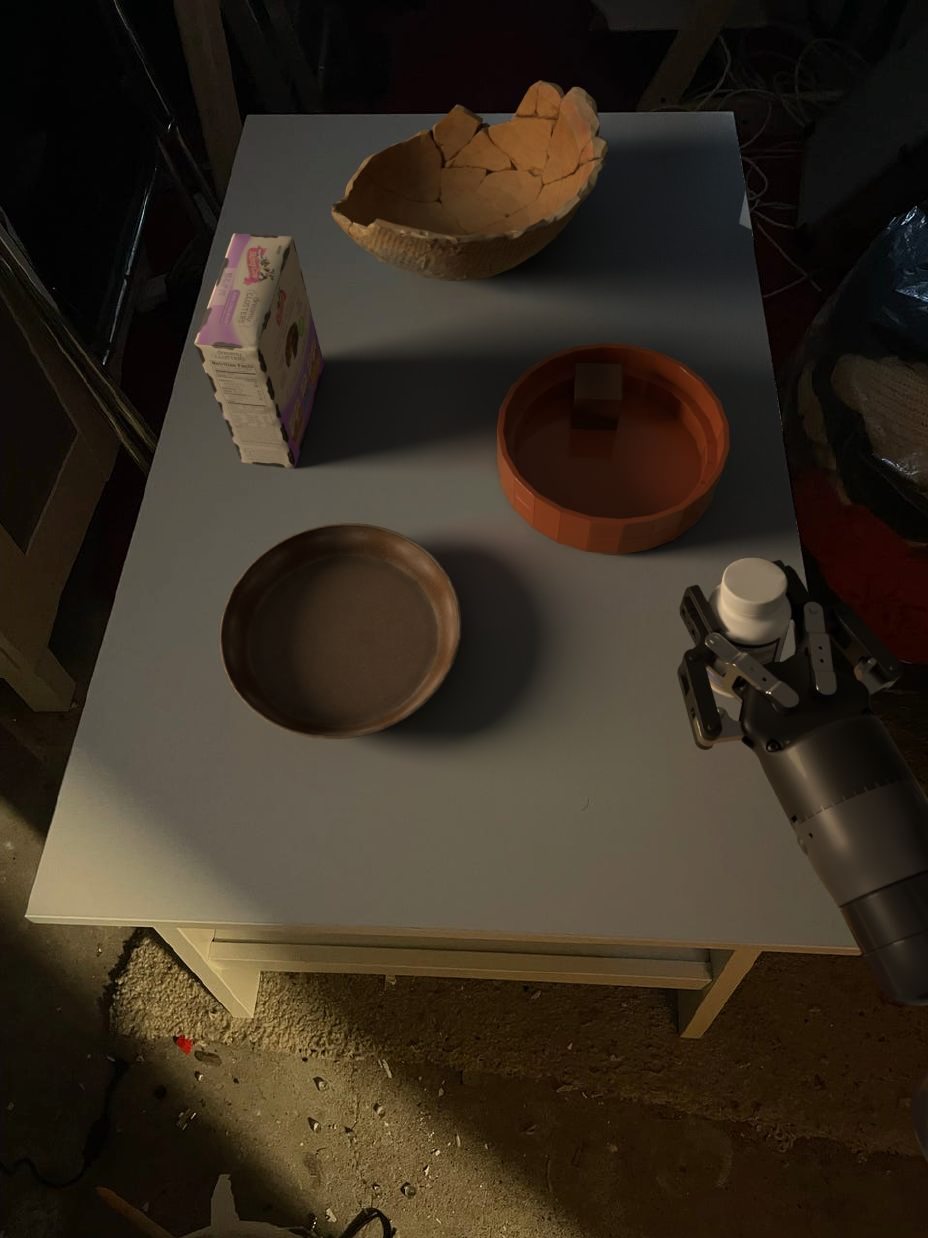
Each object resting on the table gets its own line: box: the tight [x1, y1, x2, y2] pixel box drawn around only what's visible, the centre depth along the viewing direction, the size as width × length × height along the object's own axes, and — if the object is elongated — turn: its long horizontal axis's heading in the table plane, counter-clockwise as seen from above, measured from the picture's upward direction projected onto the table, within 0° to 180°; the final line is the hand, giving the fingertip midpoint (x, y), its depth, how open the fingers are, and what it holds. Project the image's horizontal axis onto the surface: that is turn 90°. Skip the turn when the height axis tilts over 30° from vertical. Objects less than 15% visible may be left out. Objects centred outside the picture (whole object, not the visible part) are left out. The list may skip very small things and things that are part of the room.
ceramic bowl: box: [330, 79, 610, 282], centre depth 97 cm, size 30×27×15 cm
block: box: [571, 363, 623, 430], centre depth 87 cm, size 4×4×4 cm
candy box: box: [193, 232, 325, 469], centre depth 84 cm, size 14×6×16 cm, turn 172°
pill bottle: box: [706, 557, 791, 699], centre depth 60 cm, size 5×5×10 cm
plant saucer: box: [219, 522, 462, 740], centre depth 77 cm, size 21×21×3 cm
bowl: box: [496, 342, 731, 555], centre depth 85 cm, size 21×21×6 cm
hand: (730, 580), depth 60 cm, fingers closed on pill bottle, 5 cm apart
